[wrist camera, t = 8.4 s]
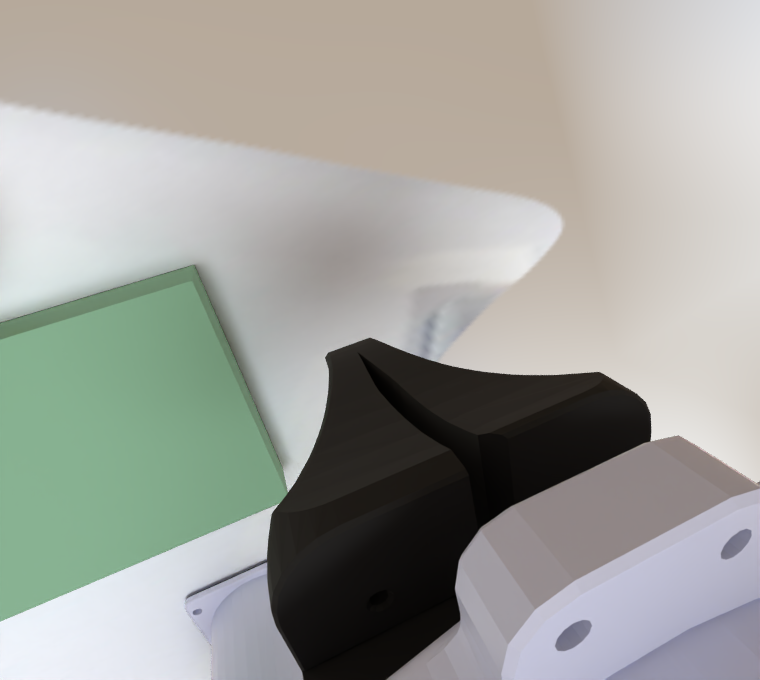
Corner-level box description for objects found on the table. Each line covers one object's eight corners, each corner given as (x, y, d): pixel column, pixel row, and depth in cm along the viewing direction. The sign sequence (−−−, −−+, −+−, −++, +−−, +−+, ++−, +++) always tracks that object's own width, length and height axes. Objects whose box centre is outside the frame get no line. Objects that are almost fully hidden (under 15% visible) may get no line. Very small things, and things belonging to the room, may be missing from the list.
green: (282, 467, 25) (289, 499, 22) (-133, 636, 21) (-174, 694, 18) (194, 264, 19) (191, 280, 17) (-399, 443, 15) (-501, 493, 13)
